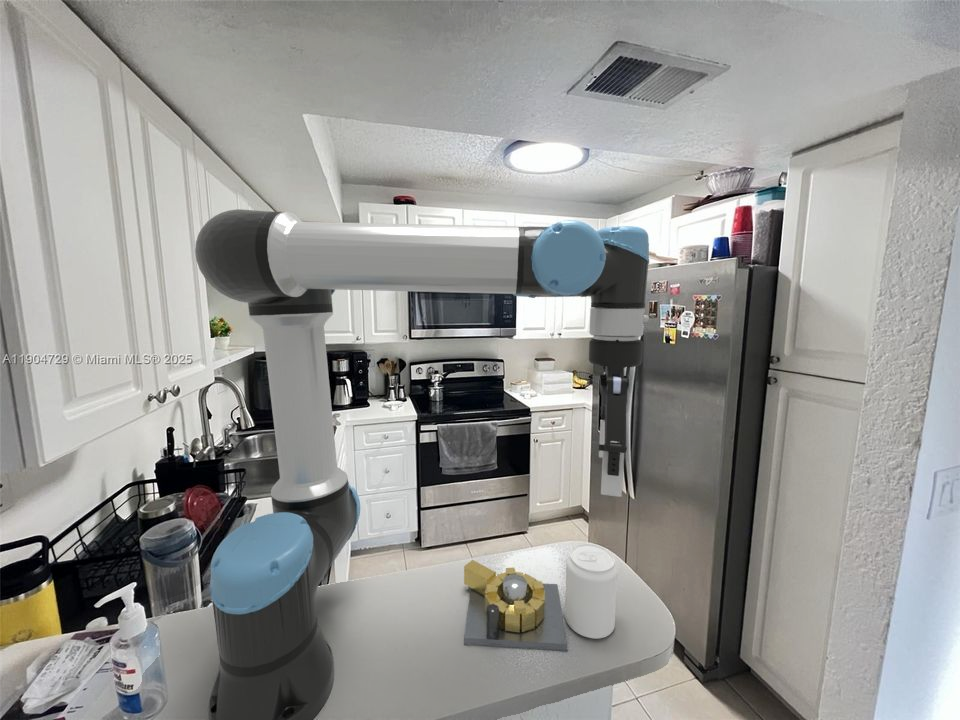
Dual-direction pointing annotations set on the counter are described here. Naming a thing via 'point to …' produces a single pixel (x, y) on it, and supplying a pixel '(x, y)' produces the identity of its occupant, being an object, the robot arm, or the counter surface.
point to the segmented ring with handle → (492, 589)
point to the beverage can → (591, 590)
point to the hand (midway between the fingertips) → (608, 474)
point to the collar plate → (544, 636)
